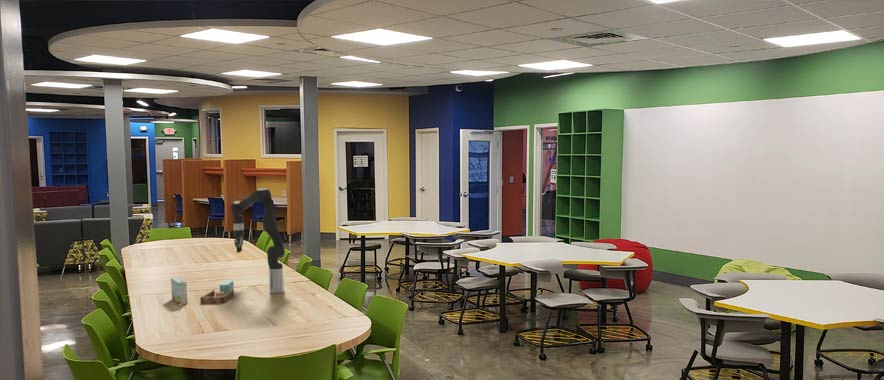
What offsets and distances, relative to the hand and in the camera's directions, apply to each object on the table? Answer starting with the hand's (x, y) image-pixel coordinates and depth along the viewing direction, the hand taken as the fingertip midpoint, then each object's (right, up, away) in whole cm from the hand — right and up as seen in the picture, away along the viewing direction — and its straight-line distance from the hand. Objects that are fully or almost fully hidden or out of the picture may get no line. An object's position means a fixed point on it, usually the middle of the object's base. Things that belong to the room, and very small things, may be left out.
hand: (239, 251), depth 455 cm
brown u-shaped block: (0, -28, -43) cm, 52 cm away
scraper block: (0, -27, -26) cm, 38 cm away
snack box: (-24, -29, -48) cm, 61 cm away
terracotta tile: (0, -28, -38) cm, 47 cm away
